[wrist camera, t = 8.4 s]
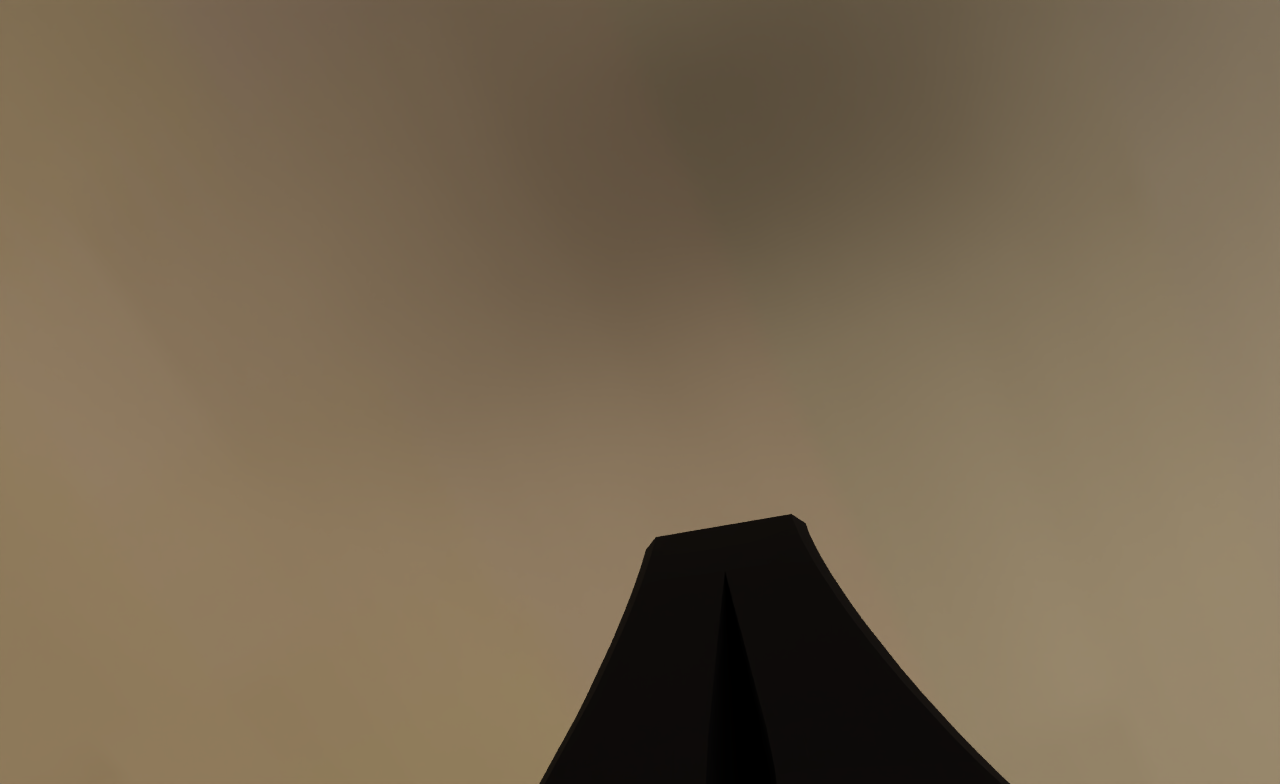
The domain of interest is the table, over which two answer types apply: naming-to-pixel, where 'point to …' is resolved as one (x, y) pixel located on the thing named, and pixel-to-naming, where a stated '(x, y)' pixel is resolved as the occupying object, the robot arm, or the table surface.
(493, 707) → the table surface
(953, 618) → the table surface
